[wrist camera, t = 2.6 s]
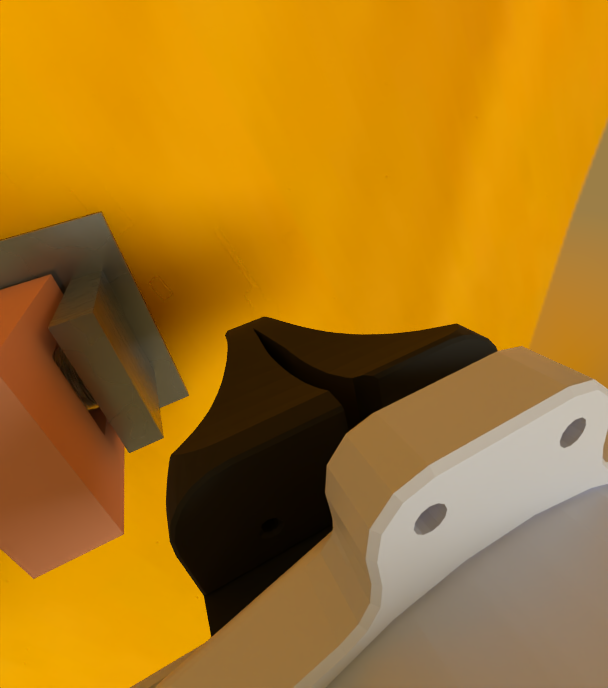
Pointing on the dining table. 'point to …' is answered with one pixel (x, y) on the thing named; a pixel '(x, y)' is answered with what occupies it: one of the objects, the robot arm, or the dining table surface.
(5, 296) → the orange block
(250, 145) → the dining table surface
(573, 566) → the robot arm
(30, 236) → the pipe rig
